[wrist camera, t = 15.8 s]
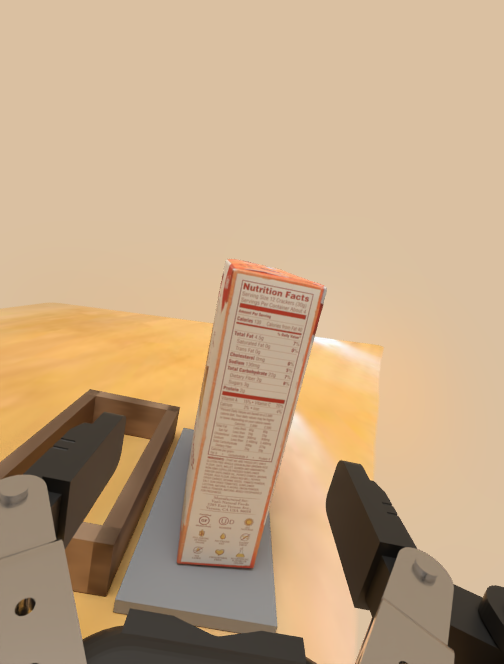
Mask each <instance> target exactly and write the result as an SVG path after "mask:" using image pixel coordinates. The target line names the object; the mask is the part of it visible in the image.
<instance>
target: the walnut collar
mask: <svg viewBox="0 0 504 664" xmlns="http://www.w3.org/2000/svg"><path fill="white" fill-rule="evenodd" d="M179 409H180V407H176V406H171V405H166V404H161V403H156V402H151V401H146V400H141V399H136V398H131V397H126V396H121V395H116V394H111V393H106V392H101V391H96V390H91V389H90V390H89V391H88V392H86V393H85V394H84V395H83V396H81V397H80V398H79V399H78V400H76V401H75V402H74V403H73V404H72V405H70V406H69V407H68V408H67V409H65V410H64V411H63V412H62V413H60V414H59V415H58V416H57V417H56V418H54V419H53V420H52V421H51V422H49V423H48V424H47V425H46V426H44V427H43V428H42V429H41V430H40V431H38V432H37V433H36V434H35V435H33V436H32V437H31V438H30V439H28V440H27V441H26V442H25V443H24V444H22V445H21V446H20V447H19V448H17V449H16V450H15V451H14V452H12V453H11V454H10V455H9V456H8V457H6V458H5V459H4V460H3V461H1V462H0V480H1V479H4V478H7V477H10V476H15V475H23V474H24V473H25V472H26V471H27V470H28V469H29V468H30V467H31V466H32V465H33V464H34V463H35V462H36V461H37V460H38V459H39V458H40V457H42V456H43V455H44V454H45V453H46V452H47V451H48V450H49V449H50V448H52V447H53V445H54V444H55V443H56V442H57V441H58V440H60V439H61V437H63V436H64V435H65V434H66V433H67V432H68V431H69V430H70V429H71V428H74V427H76V426H78V425H80V424H82V423H84V422H85V423H90V424H93V423H94V421H95V420H96V419H97V418H98V417H99V416H100V415H101V414H102V413H103V412H109V413H114V414H119V415H124V416H126V425H125V432H124V434H127V435H132V436H137V437H142V438H148V439H151V440H150V441H149V443H148V445H147V447H146V449H145V450H144V452H143V454H142V456H141V458H140V459H139V461H138V463H137V465H136V467H135V468H134V470H133V472H132V474H131V476H130V477H129V479H128V481H127V483H126V485H125V486H124V488H123V490H122V492H121V494H120V495H119V497H118V499H117V501H116V503H115V504H114V506H113V508H112V510H111V512H110V513H109V515H108V517H107V519H106V520H105V522H104V524H103V525H97V524H91V523H86V522H82V524H81V525H80V527H79V528H78V530H77V532H76V533H75V535H74V536H73V538H72V539H71V541H70V543H69V544H68V546H67V547H66V549H65V554H66V559H67V564H68V569H69V574H70V579H71V585H72V590H73V591H76V592H82V593H88V594H94V595H100V596H106V595H107V593H108V590H109V588H110V586H111V583H112V581H113V579H114V577H115V574H116V572H117V570H118V567H119V565H120V563H121V560H122V558H123V556H124V553H125V551H126V549H127V546H128V544H129V542H130V539H131V537H132V535H133V532H134V530H135V528H136V525H137V523H138V521H139V518H140V516H141V514H142V511H143V509H144V507H145V504H146V502H147V500H148V497H149V495H150V493H151V490H152V488H153V486H154V483H155V481H156V479H157V476H158V474H159V472H160V469H161V467H162V465H163V462H164V460H165V458H166V456H167V453H168V451H169V449H170V446H171V444H172V442H173V439H174V436H175V431H176V425H177V420H178V414H179Z"/></svg>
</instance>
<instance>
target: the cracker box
mask: <svg viewBox="0 0 504 664" xmlns="http://www.w3.org/2000/svg"><path fill="white" fill-rule="evenodd" d="M326 290H327V288H326V287H325V286H324V285H321V284H318V283H315V282H312V281H309V280H306V279H303V278H300V277H298V276H295V275H293V274H290V273H287V272H285V271H283V270H280V269H276V268H271V267H267V266H263V265H259V264H254V263H251V262H246V261H241V260H236V259H227V260H226V261H225V267H224V272H223V276H222V281H221V286H220V291H219V296H218V302H217V308H216V313H215V318H214V323H213V329H212V334H211V340H210V345H209V351H208V356H207V361H206V367H205V372H204V378H203V383H202V389H201V395H200V400H199V406H198V411H197V416H196V422H195V427H194V433H193V439H192V445H191V451H190V458H189V464H188V472H187V479H186V486H185V494H184V502H183V510H182V519H181V528H180V536H179V547H178V555H177V563H178V564H194V565H208V566H222V567H237V568H253V567H254V564H255V560H256V556H257V552H258V548H259V544H260V540H261V537H262V533H263V529H264V526H265V522H266V518H267V514H268V511H269V507H270V503H271V499H272V495H273V491H274V487H275V484H276V480H277V476H278V472H279V469H280V465H281V461H282V457H283V454H284V450H285V446H286V442H287V438H288V435H289V431H290V427H291V423H292V420H293V416H294V412H295V408H296V404H297V401H298V397H299V393H300V389H301V385H302V382H303V378H304V374H305V370H306V367H307V363H308V359H309V356H310V352H311V348H312V344H313V341H314V337H315V333H316V330H317V326H318V322H319V318H320V314H321V311H322V308H323V303H324V299H325V295H326Z"/></svg>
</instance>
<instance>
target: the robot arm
mask: <svg viewBox="0 0 504 664" xmlns="http://www.w3.org/2000/svg"><path fill="white" fill-rule="evenodd" d="M125 425H126V416H124V415H119V414H114V413H109V412H103V413H102V414H101V415H100V416H99V417H98V418H97V419H96V420H95V421H94V423H93V424H90V423H85V422H84V423H82V424H80V425H78V426H76V427H74V428H71V429H70V430H69V431H68V432H67V433H66V434H65V435H64V436H63V437H61V439H60V440H58V441H57V442H56V443H55V444H54V445H53V447H52V448H50V449H49V450H48V451H47V452H46V453H45V454H44V455H43V456H42V457H40V458H39V459H38V460H37V461H36V462H35V463H34V464H33V465H32V466H31V467H30V468H29V469H28V470H27V471H26V472H25V473H24V474H23V475H15V476H10V477H7V478H4V479H1V480H0V664H317V663H315V662H313V661H312V660H310V659H309V658H307V657H305V650H304V642H303V638H301V637H295V636H289V635H284V634H278V633H272V632H266V631H256V632H249V633H242V634H235V635H228V636H219V637H218V636H214V635H211V634H209V633H207V632H205V631H203V630H201V629H199V628H197V627H195V626H193V625H191V624H189V623H187V622H185V621H183V620H181V619H179V618H177V617H175V616H173V615H167V614H161V613H155V612H149V611H143V610H137V609H132V608H130V609H129V612H128V615H127V618H126V621H125V624H124V626H117V627H113V628H109V629H105V630H102V631H100V632H97V633H95V634H92V635H90V636H88V637H86V638H85V639H83V640H82V636H81V631H80V626H79V620H78V615H77V610H76V605H75V600H74V595H73V590H72V585H71V579H70V574H69V569H68V564H67V559H66V554H65V549H66V547H67V546H68V544H69V543H70V541H71V539H72V538H73V536H74V535H75V533H76V532H77V530H78V528H79V527H80V525H81V524H82V522H83V521H84V519H85V517H86V516H87V514H88V513H89V511H90V510H91V508H92V506H93V505H94V503H95V502H96V500H97V498H98V497H99V495H100V494H101V492H102V491H103V489H104V487H105V486H106V484H107V483H108V481H109V480H110V478H111V476H112V475H113V473H114V472H115V470H116V468H117V465H118V463H119V460H120V456H121V451H122V445H123V438H124V432H125ZM326 512H327V516H328V520H329V523H330V526H331V530H332V533H333V536H334V540H335V543H336V547H337V550H338V553H339V557H340V560H341V563H342V567H343V570H344V574H345V577H346V580H347V584H348V587H349V590H350V594H351V597H352V600H353V604H354V607H355V608H360V609H366V610H370V612H371V615H372V619H371V622H370V624H369V627H368V629H367V632H366V635H365V638H364V640H363V643H362V646H361V649H360V651H359V654H358V657H357V659H356V662H355V664H504V587H500V586H490V587H489V588H487V590H486V592H485V594H484V596H483V598H482V597H480V596H478V595H476V594H474V593H471V592H469V591H467V590H465V589H463V588H461V587H458V586H456V585H454V584H453V582H452V579H451V577H450V576H449V574H448V573H447V571H446V570H445V569H444V568H443V566H442V565H441V564H440V563H439V562H438V561H436V560H435V559H434V558H433V557H431V556H430V555H428V554H426V553H425V552H423V551H421V550H418V549H417V548H416V546H415V544H414V542H413V540H412V539H411V537H410V535H409V533H408V532H407V530H406V528H405V526H404V525H403V523H402V521H401V519H400V518H399V517H398V516H397V512H396V511H395V509H394V507H393V506H392V504H391V502H390V500H389V498H388V497H387V495H386V493H385V492H384V491H383V490H382V489H381V488H380V487H379V486H378V485H377V484H376V483H375V482H374V481H370V480H369V478H368V476H367V474H366V472H365V470H364V468H363V467H362V465H361V464H357V463H352V462H347V461H342V460H341V461H339V462H338V464H337V467H336V470H335V473H334V476H333V479H332V482H331V485H330V488H329V491H328V494H327V498H326Z"/></svg>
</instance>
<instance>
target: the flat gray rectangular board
mask: <svg viewBox="0 0 504 664" xmlns="http://www.w3.org/2000/svg"><path fill="white" fill-rule="evenodd" d="M193 433H194V430H192V429H187V428H183V431H182V433H181V436H180V438H179V441H178V443H177V446H176V448H175V451H174V453H173V456H172V458H171V461H170V463H169V466H168V468H167V471H166V474H165V476H164V479H163V481H162V484H161V486H160V489H159V491H158V494H157V496H156V499H155V501H154V504H153V506H152V509H151V511H150V514H149V516H148V519H147V521H146V524H145V526H144V529H143V531H142V534H141V536H140V539H139V541H138V544H137V546H136V549H135V551H134V554H133V556H132V559H131V561H130V564H129V566H128V569H127V571H126V574H125V576H124V579H123V581H122V584H121V586H120V589H119V591H118V594H117V596H116V599H115V605H114V611H113V612H115V613H121V614H127V615H128V612H129V609H130V608H132V609H137V610H143V611H149V612H155V613H161V614H167V615H173V616H175V617H177V618H179V619H181V620H183V621H185V622H187V623H189V624H191V625H194V626H200V627H206V628H212V629H218V630H224V631H230V632H236V633H249V632H256V631H266V632H272V633H275V632H276V629H277V616H276V601H275V587H274V573H273V559H272V545H271V531H270V517H269V511H268V514H267V518H266V522H265V526H264V529H263V533H262V537H261V540H260V544H259V548H258V552H257V556H256V560H255V564H254V567H253V568H237V567H222V566H208V565H194V564H178V563H177V555H178V547H179V536H180V528H181V519H182V510H183V502H184V494H185V486H186V479H187V472H188V464H189V458H190V451H191V445H192V439H193Z"/></svg>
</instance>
